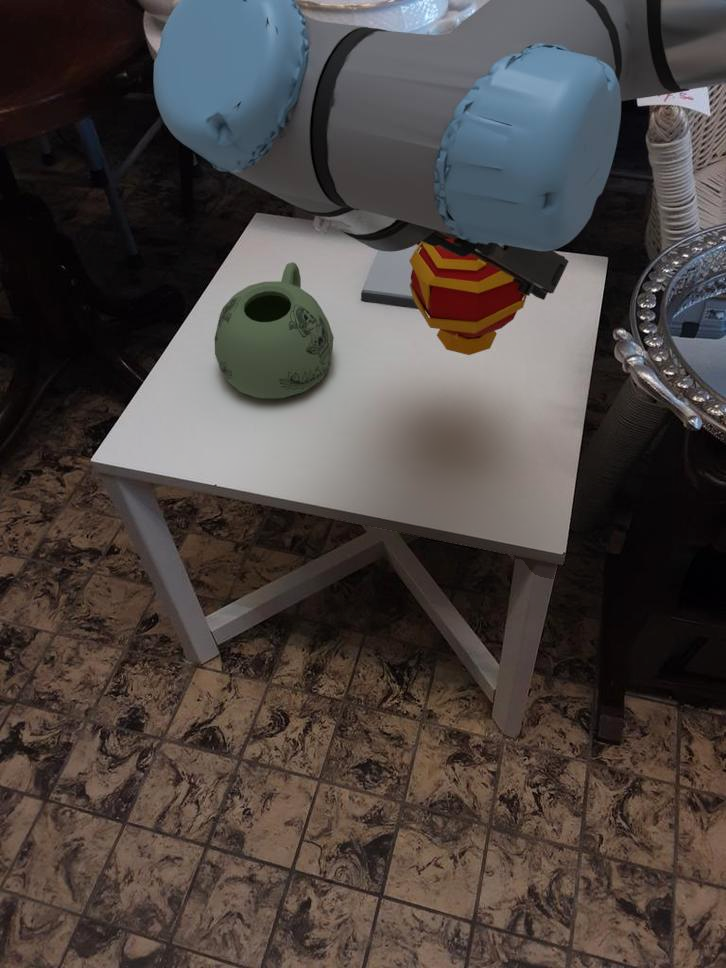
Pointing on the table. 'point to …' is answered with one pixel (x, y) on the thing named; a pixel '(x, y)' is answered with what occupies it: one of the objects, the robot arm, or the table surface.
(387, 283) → the scale
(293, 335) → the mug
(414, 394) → the table surface
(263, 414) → the table surface
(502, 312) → the potion bottle
